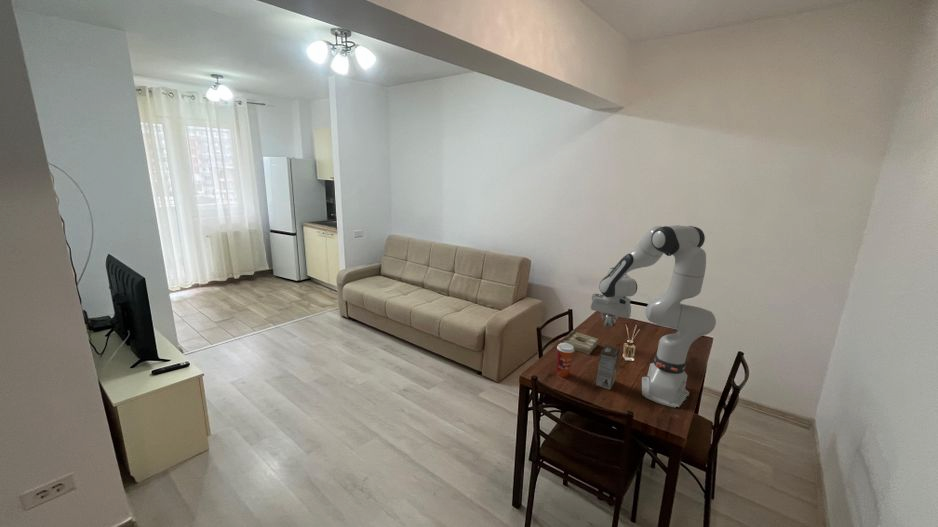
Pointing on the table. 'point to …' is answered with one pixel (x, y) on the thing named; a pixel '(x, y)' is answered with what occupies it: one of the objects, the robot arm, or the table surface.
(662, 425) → the table surface
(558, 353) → the paper cup
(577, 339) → the block
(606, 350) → the coffee box
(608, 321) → the bushing
